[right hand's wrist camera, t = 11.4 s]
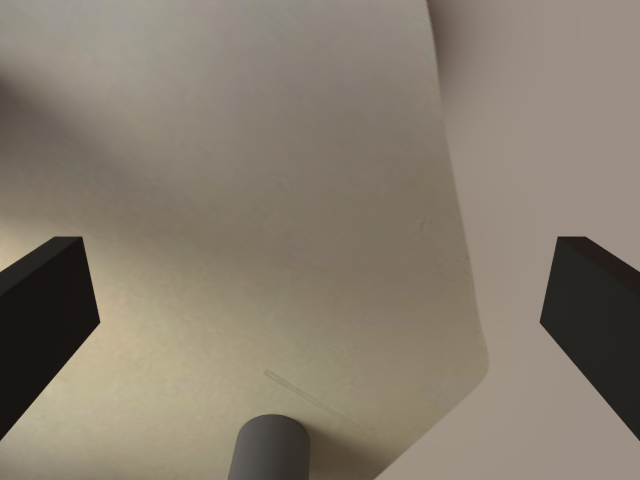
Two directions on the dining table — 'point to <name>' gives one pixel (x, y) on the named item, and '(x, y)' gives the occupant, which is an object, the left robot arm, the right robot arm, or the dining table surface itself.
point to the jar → (271, 450)
